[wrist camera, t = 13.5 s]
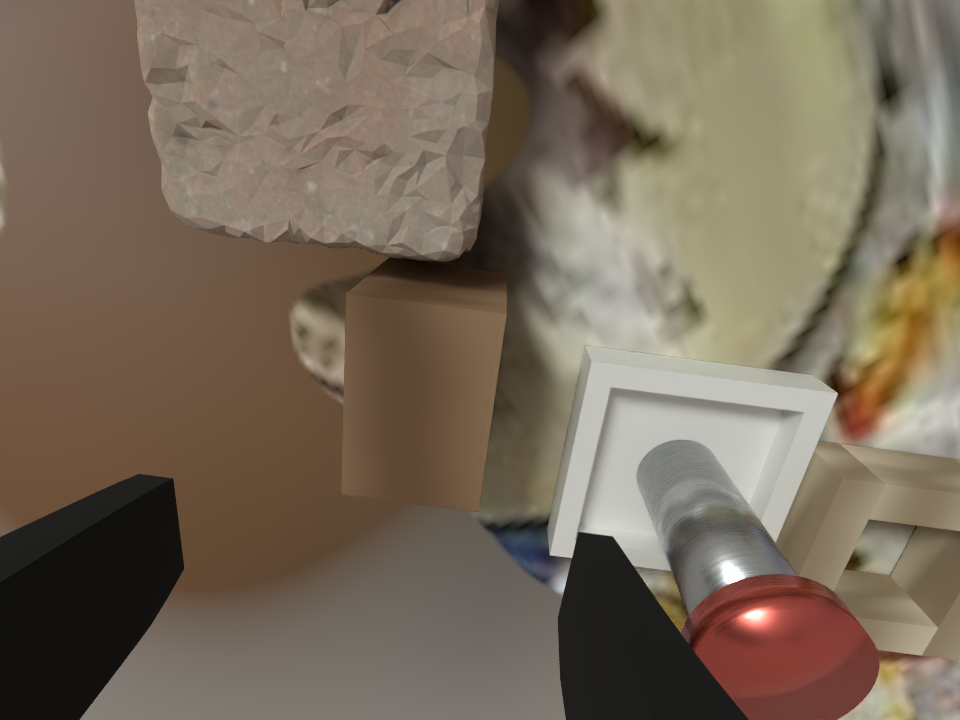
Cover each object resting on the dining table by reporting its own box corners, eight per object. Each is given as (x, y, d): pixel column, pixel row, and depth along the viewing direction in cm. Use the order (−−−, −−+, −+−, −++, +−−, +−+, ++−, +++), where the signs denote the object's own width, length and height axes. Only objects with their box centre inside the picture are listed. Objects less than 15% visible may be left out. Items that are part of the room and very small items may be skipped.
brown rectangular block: (507, 272, 17) (506, 314, 13) (485, 427, 20) (478, 511, 15) (389, 257, 17) (345, 293, 13) (381, 414, 20) (341, 494, 15)
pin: (755, 454, 19) (919, 650, 11) (693, 533, 20) (801, 754, 13) (660, 409, 18) (764, 583, 11) (602, 493, 20) (660, 698, 12)
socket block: (991, 463, 19) (1059, 506, 17) (910, 605, 21) (958, 660, 19) (801, 438, 19) (843, 478, 17) (743, 583, 21) (771, 635, 19)
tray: (812, 375, 18) (838, 393, 17) (742, 554, 21) (759, 582, 20) (585, 345, 18) (591, 361, 17) (547, 528, 21) (549, 555, 20)
